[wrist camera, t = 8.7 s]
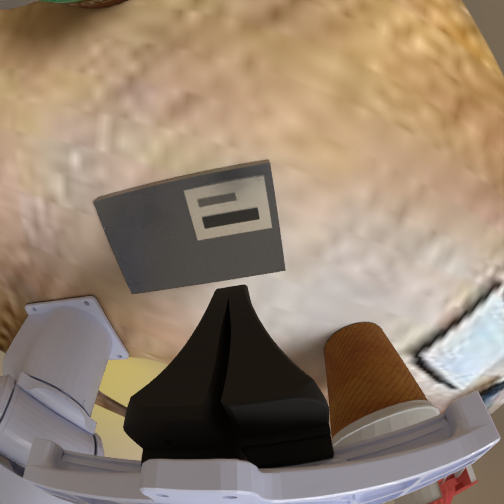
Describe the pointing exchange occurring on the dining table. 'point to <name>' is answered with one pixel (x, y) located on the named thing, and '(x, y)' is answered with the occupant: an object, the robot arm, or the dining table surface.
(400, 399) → the disposable coffee cup
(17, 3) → the food container
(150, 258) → the label panel
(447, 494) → the citrus juicer
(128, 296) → the dining table surface
